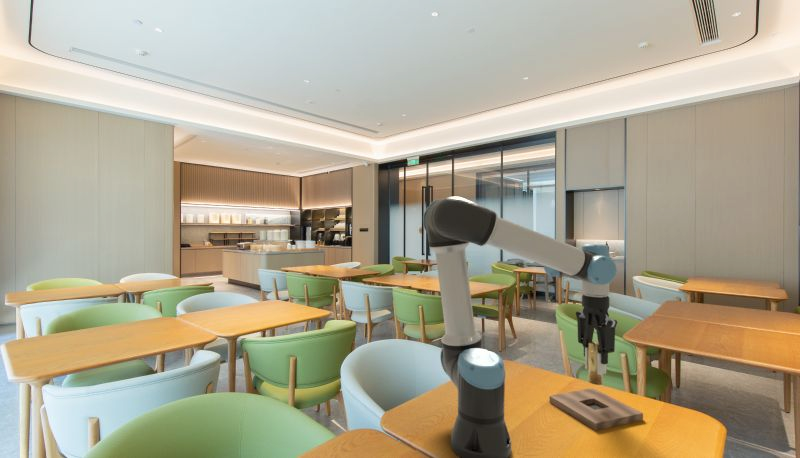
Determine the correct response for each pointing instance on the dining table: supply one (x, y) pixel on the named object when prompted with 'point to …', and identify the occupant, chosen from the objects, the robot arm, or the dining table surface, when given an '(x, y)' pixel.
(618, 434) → the dining table surface
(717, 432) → the dining table surface
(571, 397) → the board
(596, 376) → the pin
